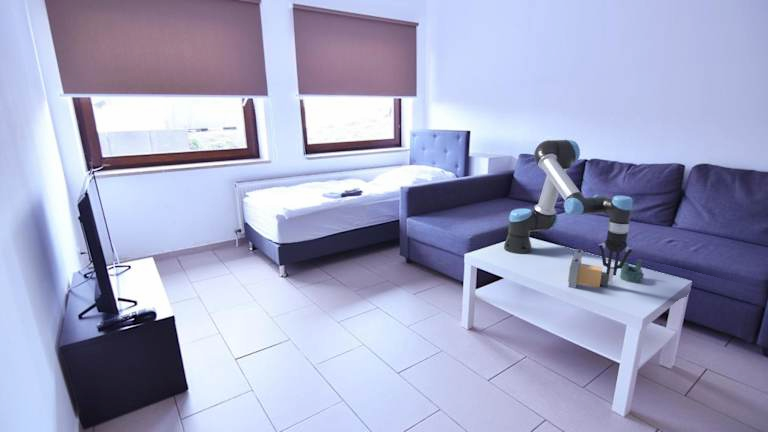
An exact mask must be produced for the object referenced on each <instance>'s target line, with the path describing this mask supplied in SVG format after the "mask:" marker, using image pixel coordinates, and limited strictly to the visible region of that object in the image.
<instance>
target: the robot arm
mask: <svg viewBox="0 0 768 432" xmlns="http://www.w3.org/2000/svg"><path fill="white" fill-rule="evenodd" d="M580 155H581V150H580V146H579V143H577V142H576V141H575V140H573V139H559V140H558V139H557V140H556V139H555V140H554V139H552V140H550V139H548V140H545V141H542V142H540V143H539V144H538V145H537V146H536V148H535V149H534V154H533V156H534V161H535V164H536V165H537V167H538V168H539V169H541V170H543V171H544V173H545V175H546V177H545V180H544V183H543V186H542V190H541V192H540V193H541V194H540V197H539V200H538V203H537V204H536V205H534V207H533V210H532V209H530V208H515V209H513V210H511V212H510V213H509V218H508V222H509V223H508V234H507V237H506V239H505V242H504V244H503V250H505V251H507V252H509V253H512V254H513V253H514V254H529V253H531V252H532V248H533V247H532V243H531V239H530V235H531V232H542V231H543V232H546V231H551V230H554V228H556V226H557V224H558V221H559V220H558V217H559V216H558V214H557V212H556V209H555V206H556V203H557V201H558V200H557V199H558V197H559V194H560V196H561V198H562V199H563V201H564V203H563V208H564V212H565V213H566V214H567V215H569V216H580V215H595V214H602V215H607V216H609V221H608V227H607V229H608V230H607V233H606V240H605V242H603V243H599V244H598V247H599V249H600V251H601V252H600V253H601V260H602V265H603V266H602V267H606V273H607V274H609V280H608V283H611V284H612V283H613V276H616V275H617V270H618V269H620V270H621V268H622V267H623V265H624V263H626V260H627V259H628V257H629V255H630V254H631V253H632V252H633V249H632V247H629V246H628V243H627V240H628V232H629V229H630V222H631V221H630V220H631V215H632V210H633V201H634V200H633V198H632V197H631V196H626V195H625V196H624V195H614V196H612V198H611V197H608V196H605V195H600V194H595V195H593V196H591V197H588V196H587V197H585V196H584V195H583V194H582V193H581V191H580V190H579V189H578V187H577V186H576V184H575V183H574V182H573V180H572V179H571V178H570V176H569V175H568V173H566V172H567V170H569V169H571V166H572V164H573V163H576V162H577V161H578V160H579V159H580ZM605 248H607V249H608V250H609V254H608V259H606V258H607V257H606V252H605V250H606V249H605ZM623 250H625V252H624V254H623V256H622V258H621V260H620V262H619V259H620V258H619V257H620V255H621V254H620V253H621V252H623ZM613 253H615V256H614V257H615V258H614V264H613V265H614V266H611V265H612V262H613V261H612V259H613Z"/></svg>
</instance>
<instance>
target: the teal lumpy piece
mask: <svg viewBox="0 0 768 432" xmlns="http://www.w3.org/2000/svg"><path fill="white" fill-rule="evenodd" d="M642 263H643V260H642V259H637V260H636V264H635V266H632V265H630V263H629V262H625V263H624V265H623V267H622V268H621V269H620V274H619V278H620V279H621V280H622V281H625V282H628V283H634V284H636V283H640V282H641V280H643V279H644V273H643V270H642Z"/></svg>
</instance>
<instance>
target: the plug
mask: <svg viewBox="0 0 768 432" xmlns="http://www.w3.org/2000/svg"><path fill="white" fill-rule="evenodd" d="M571 263H572V261H570V263H569V264H570V265H569V270H568V271H569V272H568V280H567V283H569V278H570V270H571ZM606 272H607V271H606ZM606 272H605V271H603V266H598V265H593V264H588V263H587V264H586V263H582V262H581V263H580V265H579V272H578V279H577V284H581V285H584V286H590V287H595V288H599V289H600V287H601V286H605V287H608V285H609V282H608V280H609V274H607V273H606Z"/></svg>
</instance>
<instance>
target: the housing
mask: <svg viewBox="0 0 768 432" xmlns="http://www.w3.org/2000/svg"><path fill="white" fill-rule="evenodd" d="M583 252H584V249H580V248H579V249H577V248H575V251H574V254H573V255H572V256H573V257H572V260H571V262H572V263H571V262H570V264H571V270H570V269H569V271H570V278H569V277H568V278H569V282H568V288H572V289H577V285H578V283H577V279H578V272H579V265H580V263H582V259H583V254H584V253H583Z"/></svg>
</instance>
